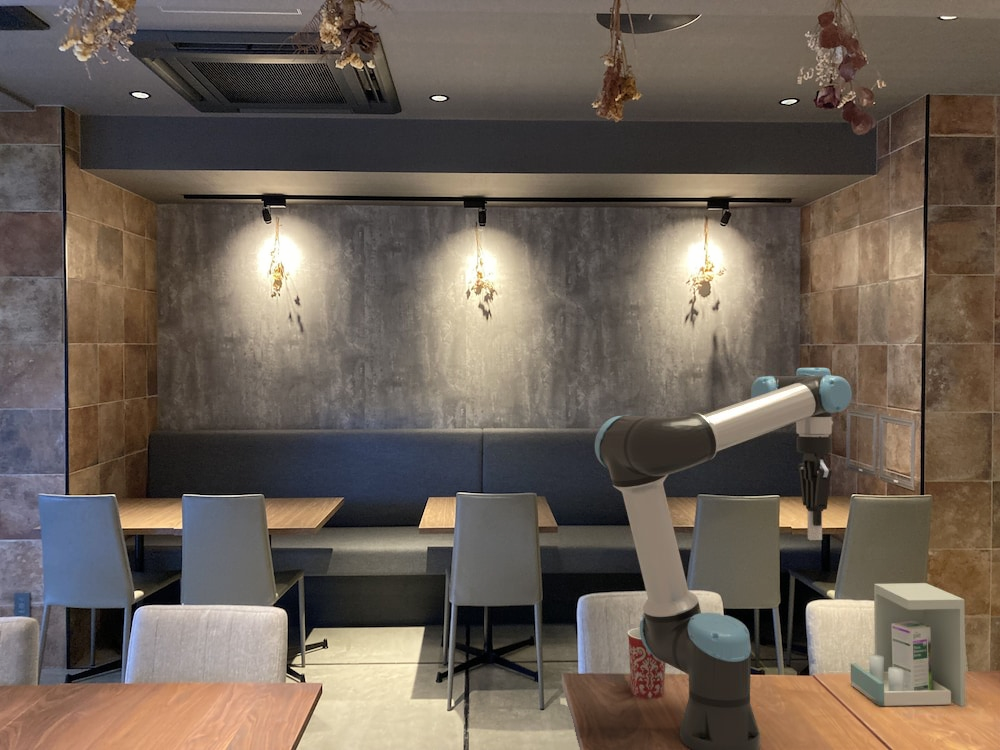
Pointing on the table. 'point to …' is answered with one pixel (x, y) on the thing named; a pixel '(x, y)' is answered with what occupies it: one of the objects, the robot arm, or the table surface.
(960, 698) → the white open shelf
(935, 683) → the tray
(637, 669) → the mug
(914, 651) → the syrup box
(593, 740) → the table surface
